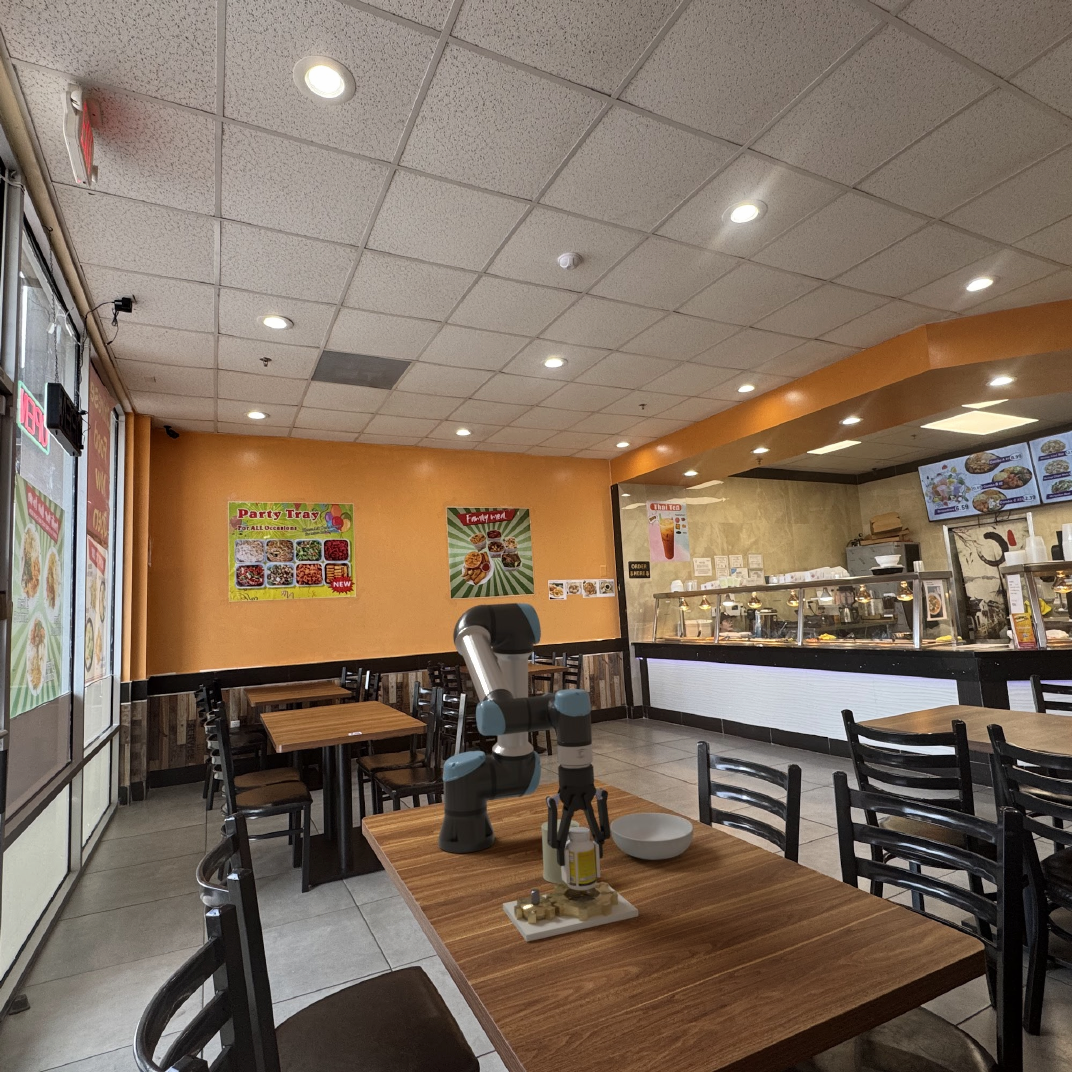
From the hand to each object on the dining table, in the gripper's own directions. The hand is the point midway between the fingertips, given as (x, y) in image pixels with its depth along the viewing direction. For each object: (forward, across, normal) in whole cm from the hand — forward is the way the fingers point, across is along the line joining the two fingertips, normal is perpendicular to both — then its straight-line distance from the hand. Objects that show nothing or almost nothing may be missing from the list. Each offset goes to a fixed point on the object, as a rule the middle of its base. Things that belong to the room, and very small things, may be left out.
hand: (581, 877), depth 139 cm
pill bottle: (+2, 0, 0) cm, 2 cm away
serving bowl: (+7, +29, +21) cm, 36 cm away
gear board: (+6, -3, 0) cm, 7 cm away
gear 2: (+5, 0, 0) cm, 5 cm away
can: (+7, +3, +18) cm, 20 cm away
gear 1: (+5, -10, 0) cm, 12 cm away
